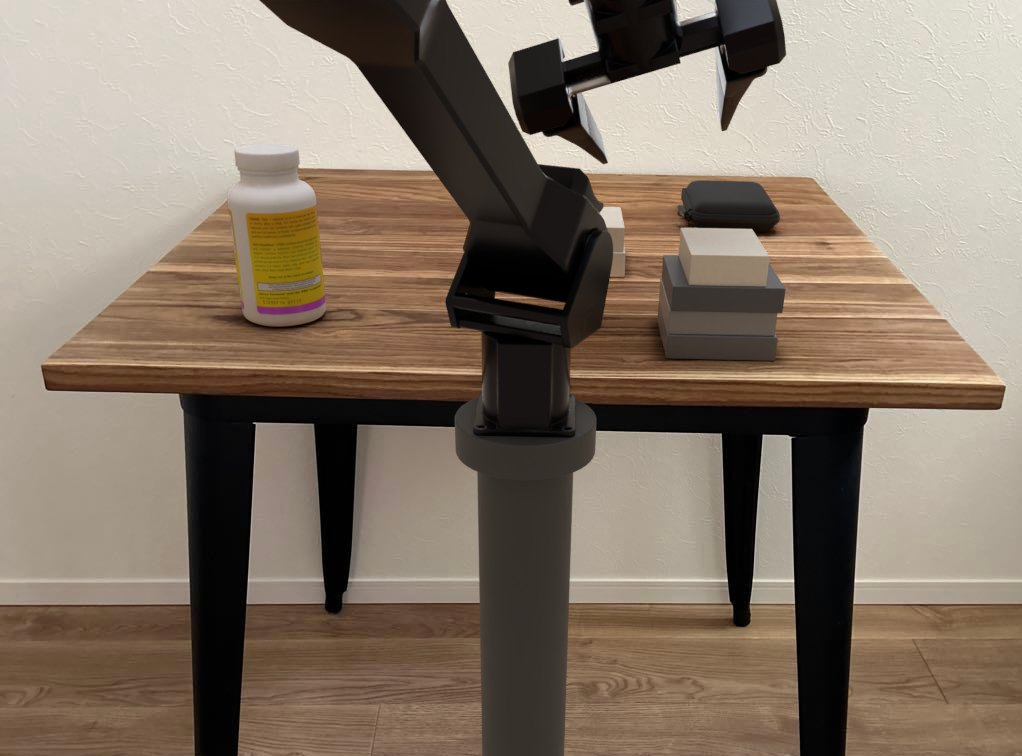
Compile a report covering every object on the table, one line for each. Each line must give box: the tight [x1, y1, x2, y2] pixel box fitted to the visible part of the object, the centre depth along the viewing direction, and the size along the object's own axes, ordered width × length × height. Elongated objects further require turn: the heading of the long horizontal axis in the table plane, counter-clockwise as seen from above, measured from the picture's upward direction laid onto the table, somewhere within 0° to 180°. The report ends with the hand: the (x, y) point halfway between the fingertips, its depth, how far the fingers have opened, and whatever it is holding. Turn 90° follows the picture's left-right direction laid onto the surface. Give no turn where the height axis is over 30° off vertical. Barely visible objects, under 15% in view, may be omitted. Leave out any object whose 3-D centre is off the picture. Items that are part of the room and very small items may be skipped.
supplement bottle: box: [226, 143, 327, 328], centre depth 82 cm, size 7×7×13 cm
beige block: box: [600, 206, 627, 278], centre depth 99 cm, size 9×6×4 cm
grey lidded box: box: [656, 254, 787, 362], centre depth 80 cm, size 9×8×5 cm
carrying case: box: [676, 179, 781, 233], centre depth 116 cm, size 11×3×15 cm
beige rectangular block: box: [677, 227, 771, 287], centre depth 78 cm, size 8×6×2 cm
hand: (663, 143), depth 81 cm, fingers open, 9 cm apart
